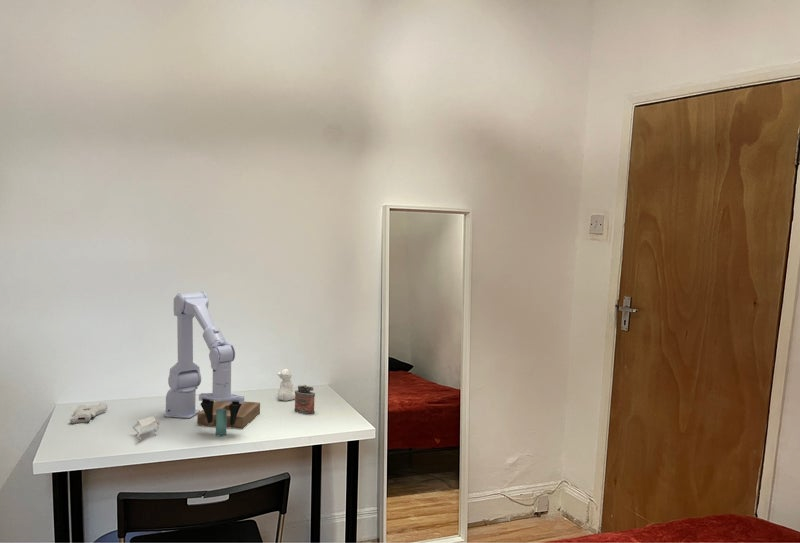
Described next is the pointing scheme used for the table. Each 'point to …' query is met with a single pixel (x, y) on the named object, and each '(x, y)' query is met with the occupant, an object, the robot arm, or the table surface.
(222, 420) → the peg
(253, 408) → the socket block
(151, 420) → the origami figure
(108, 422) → the table surface
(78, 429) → the table surface
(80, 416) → the gun
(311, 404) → the lighter
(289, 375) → the white creature statuette
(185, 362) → the robot arm
